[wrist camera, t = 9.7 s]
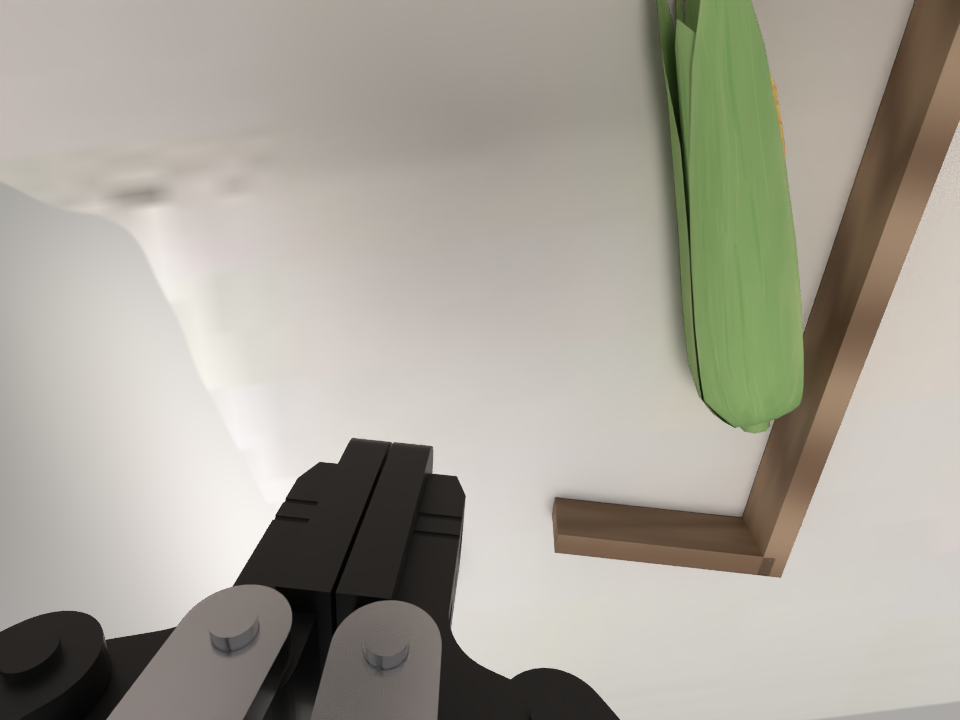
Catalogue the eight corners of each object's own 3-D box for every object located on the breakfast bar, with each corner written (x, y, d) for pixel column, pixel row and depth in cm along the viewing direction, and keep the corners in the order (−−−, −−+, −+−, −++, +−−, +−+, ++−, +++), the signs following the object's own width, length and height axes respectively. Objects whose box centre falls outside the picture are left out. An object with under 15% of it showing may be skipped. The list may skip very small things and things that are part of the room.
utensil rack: (650, -96, 20) (670, -129, 18) (974, -73, 20) (1046, -103, 17) (552, 514, 32) (554, 552, 29) (758, 537, 31) (780, 577, 29)
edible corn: (694, 457, 25) (812, 457, 23) (631, -69, 18) (792, -133, 16) (697, 402, 29) (796, 398, 27) (647, -39, 22) (775, -85, 20)
